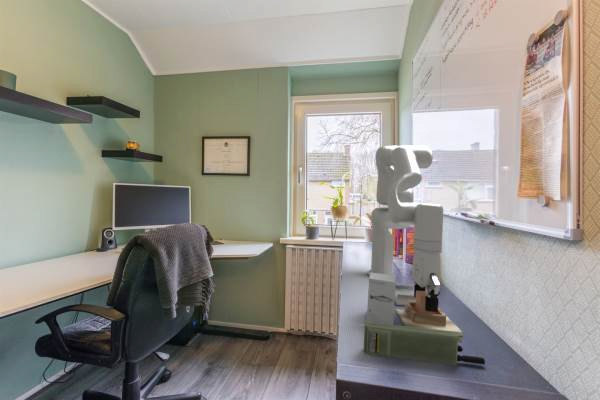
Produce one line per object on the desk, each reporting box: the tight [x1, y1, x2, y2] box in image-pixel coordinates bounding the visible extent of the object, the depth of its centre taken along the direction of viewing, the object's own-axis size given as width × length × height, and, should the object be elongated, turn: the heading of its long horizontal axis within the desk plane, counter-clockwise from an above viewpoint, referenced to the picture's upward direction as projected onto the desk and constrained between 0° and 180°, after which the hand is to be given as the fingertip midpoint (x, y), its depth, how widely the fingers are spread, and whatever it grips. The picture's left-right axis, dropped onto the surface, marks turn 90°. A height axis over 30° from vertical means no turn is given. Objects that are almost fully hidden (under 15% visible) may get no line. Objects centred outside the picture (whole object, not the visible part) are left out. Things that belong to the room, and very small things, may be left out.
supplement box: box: [366, 272, 397, 325], centre depth 76 cm, size 7×7×13 cm
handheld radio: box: [363, 321, 486, 366], centre depth 58 cm, size 7×3×25 cm
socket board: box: [395, 302, 464, 336], centre depth 75 cm, size 12×14×4 cm
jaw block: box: [415, 290, 435, 314], centre depth 76 cm, size 4×4×7 cm
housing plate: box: [394, 283, 416, 307], centre depth 90 cm, size 8×7×4 cm
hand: (425, 304), depth 77 cm, fingers open, 9 cm apart
